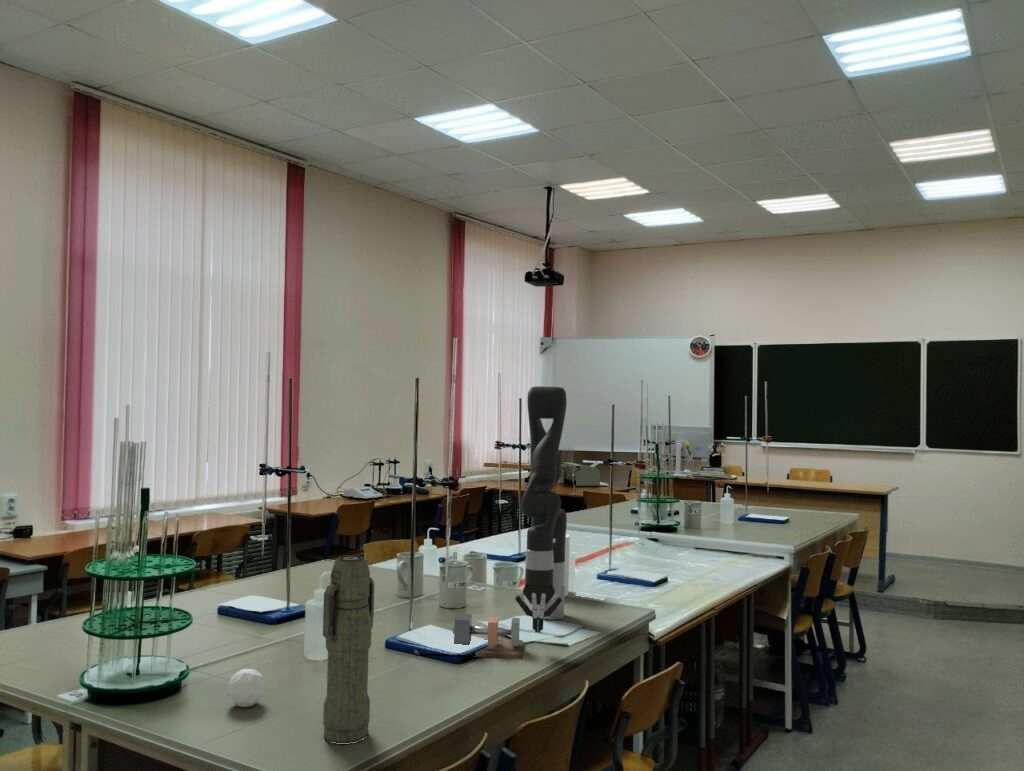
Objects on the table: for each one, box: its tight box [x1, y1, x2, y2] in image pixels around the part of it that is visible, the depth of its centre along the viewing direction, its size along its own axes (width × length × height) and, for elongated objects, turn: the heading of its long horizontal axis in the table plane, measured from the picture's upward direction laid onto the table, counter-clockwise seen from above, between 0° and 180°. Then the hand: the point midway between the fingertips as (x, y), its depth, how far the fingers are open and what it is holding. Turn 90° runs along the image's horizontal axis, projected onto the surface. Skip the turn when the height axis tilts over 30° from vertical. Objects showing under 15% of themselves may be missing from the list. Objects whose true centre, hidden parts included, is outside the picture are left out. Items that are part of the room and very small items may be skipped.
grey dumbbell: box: [452, 617, 521, 646], centre depth 214 cm, size 18×5×6 cm, turn 87°
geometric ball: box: [227, 668, 266, 708], centre depth 173 cm, size 8×8×8 cm
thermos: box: [322, 554, 375, 743], centre depth 159 cm, size 9×12×35 cm
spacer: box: [487, 616, 499, 646], centre depth 214 cm, size 2×6×6 cm, turn 178°
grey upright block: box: [453, 613, 473, 645], centre depth 215 cm, size 4×6×8 cm, turn 177°
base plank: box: [413, 638, 524, 659], centre depth 214 cm, size 28×12×1 cm, turn 87°
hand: (537, 631), depth 213 cm, fingers closed
